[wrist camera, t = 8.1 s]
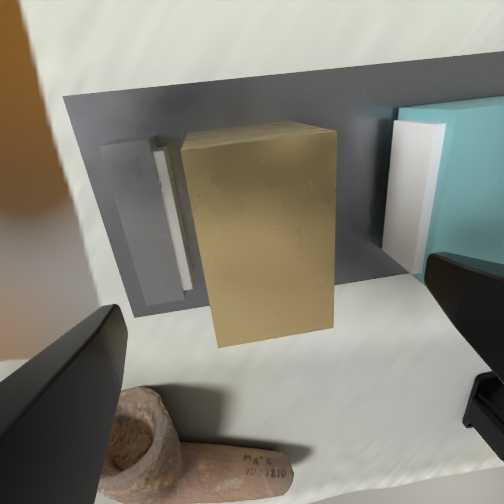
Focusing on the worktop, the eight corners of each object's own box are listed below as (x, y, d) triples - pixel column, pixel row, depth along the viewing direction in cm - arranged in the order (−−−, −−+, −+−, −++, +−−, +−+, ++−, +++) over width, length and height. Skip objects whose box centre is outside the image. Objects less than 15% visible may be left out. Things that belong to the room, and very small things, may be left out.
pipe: (286, 534, 26) (339, 482, 20) (61, 543, 22) (55, 481, 16) (274, 449, 31) (313, 390, 26) (91, 443, 27) (93, 372, 22)
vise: (576, 44, 17) (647, 34, 14) (515, 247, 22) (558, 267, 19) (71, 96, 15) (41, 95, 12) (137, 308, 20) (127, 340, 17)
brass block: (296, 263, 19) (333, 327, 14) (213, 276, 19) (218, 348, 13) (290, 120, 16) (336, 131, 10) (187, 132, 15) (180, 150, 10)
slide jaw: (536, 92, 16) (630, 89, 13) (498, 234, 20) (563, 263, 16) (389, 108, 16) (445, 111, 12) (376, 253, 19) (417, 288, 16)
